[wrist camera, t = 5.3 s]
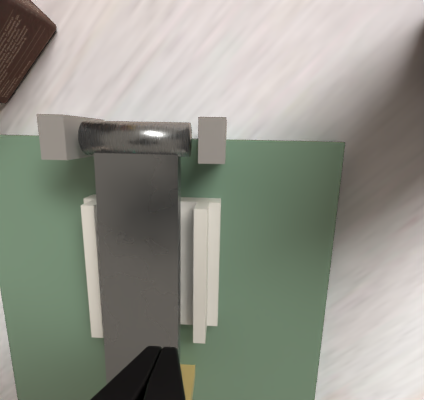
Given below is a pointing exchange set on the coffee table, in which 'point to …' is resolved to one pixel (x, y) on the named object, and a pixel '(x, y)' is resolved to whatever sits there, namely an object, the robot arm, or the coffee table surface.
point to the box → (20, 41)
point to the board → (190, 263)
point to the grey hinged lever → (138, 232)
